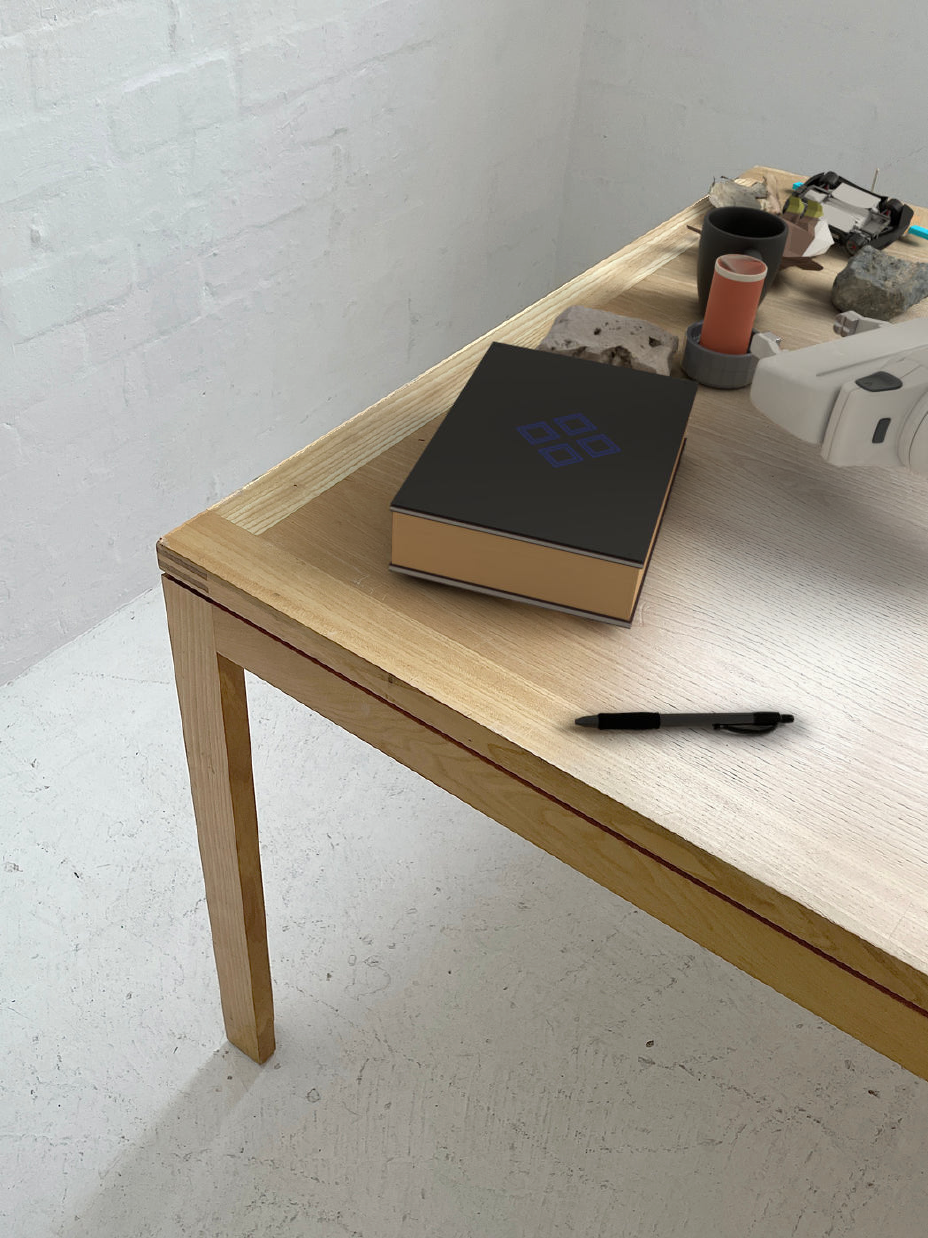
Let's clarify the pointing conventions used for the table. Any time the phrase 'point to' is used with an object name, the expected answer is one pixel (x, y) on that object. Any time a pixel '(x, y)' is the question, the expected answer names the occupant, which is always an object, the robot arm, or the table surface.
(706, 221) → the mug
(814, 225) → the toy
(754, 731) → the pen
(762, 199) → the stone fragment
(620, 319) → the stone
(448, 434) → the book
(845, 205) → the toy car
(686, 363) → the bowl
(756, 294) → the canister
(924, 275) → the rock
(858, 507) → the table surface
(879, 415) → the robot arm
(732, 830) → the table surface
